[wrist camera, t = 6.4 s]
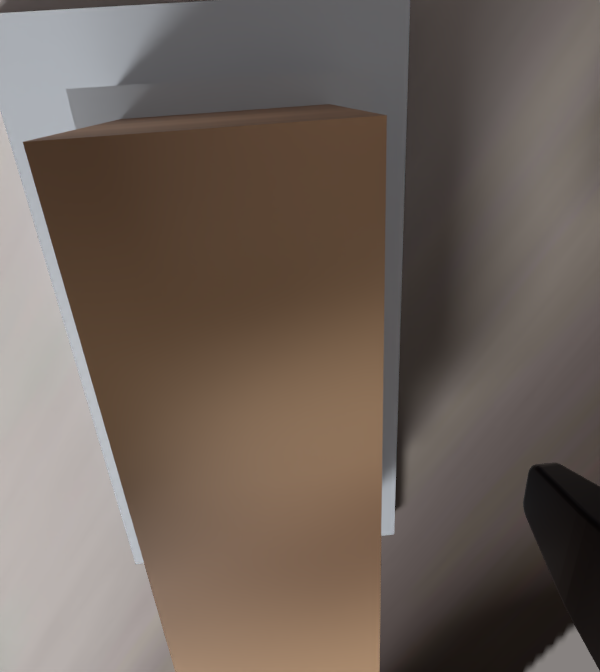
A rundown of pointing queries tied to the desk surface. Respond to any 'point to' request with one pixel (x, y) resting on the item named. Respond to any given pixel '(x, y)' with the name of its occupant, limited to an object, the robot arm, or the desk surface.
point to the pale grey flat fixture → (207, 97)
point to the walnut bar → (237, 367)
